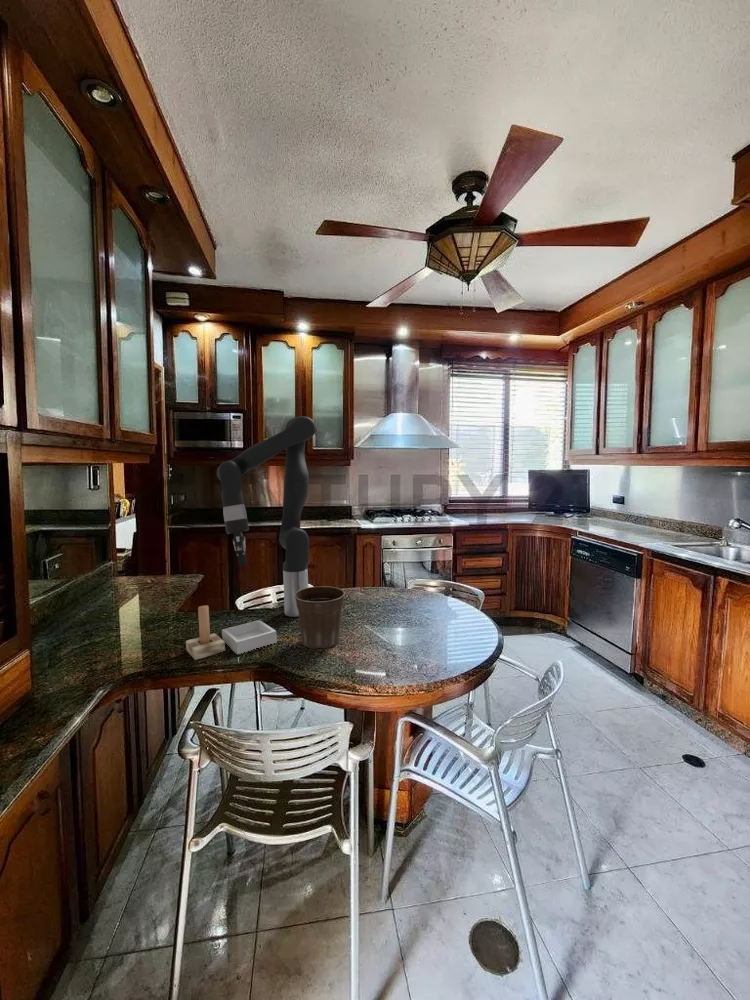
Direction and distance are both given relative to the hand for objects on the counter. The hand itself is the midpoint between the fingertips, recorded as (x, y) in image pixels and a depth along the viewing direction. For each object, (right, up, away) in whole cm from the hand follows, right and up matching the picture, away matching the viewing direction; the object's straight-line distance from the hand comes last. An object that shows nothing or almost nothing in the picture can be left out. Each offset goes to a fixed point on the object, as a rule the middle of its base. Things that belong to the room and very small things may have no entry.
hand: (243, 565), depth 149 cm
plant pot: (+28, -24, -9) cm, 38 cm away
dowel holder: (-7, -25, -15) cm, 29 cm away
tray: (+5, -24, -9) cm, 26 cm away
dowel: (-7, -25, -15) cm, 29 cm away
